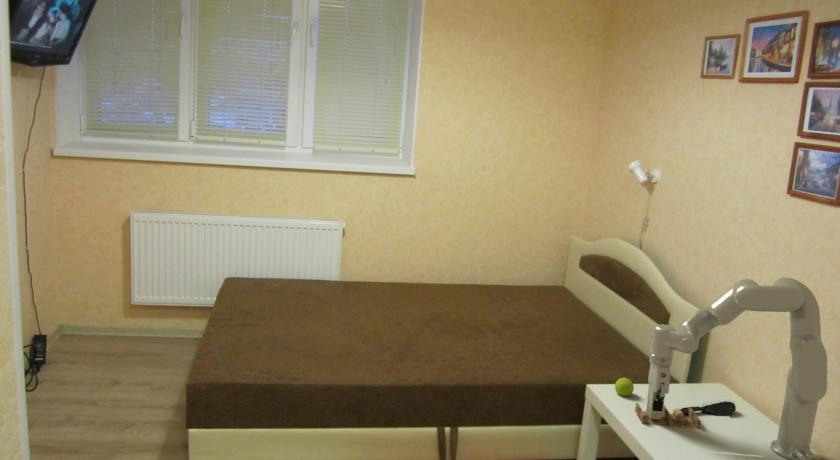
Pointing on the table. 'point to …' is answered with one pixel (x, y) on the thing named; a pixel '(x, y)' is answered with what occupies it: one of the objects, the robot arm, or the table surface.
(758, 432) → the table surface
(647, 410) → the skincare box
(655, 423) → the rack
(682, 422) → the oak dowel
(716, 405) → the hairbrush
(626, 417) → the table surface
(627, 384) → the tennis ball
